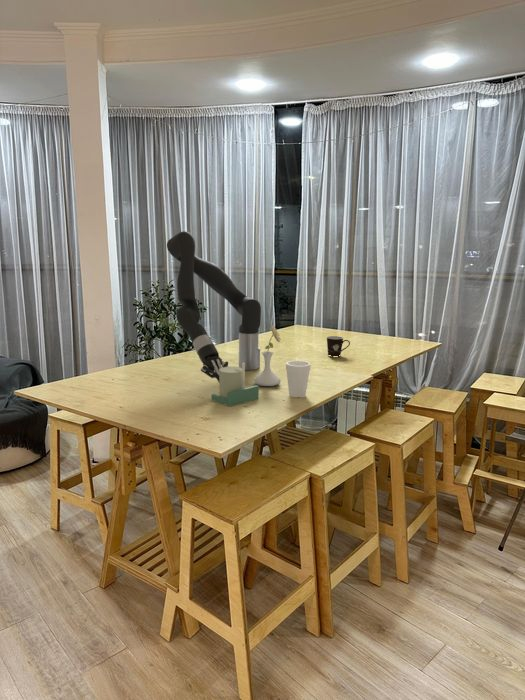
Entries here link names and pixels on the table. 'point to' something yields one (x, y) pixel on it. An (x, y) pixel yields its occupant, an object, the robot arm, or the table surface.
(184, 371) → the table surface
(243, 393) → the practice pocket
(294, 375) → the foam cup
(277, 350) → the table surface
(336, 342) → the coffee mug
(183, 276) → the robot arm
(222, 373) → the can
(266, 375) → the flower in vase
